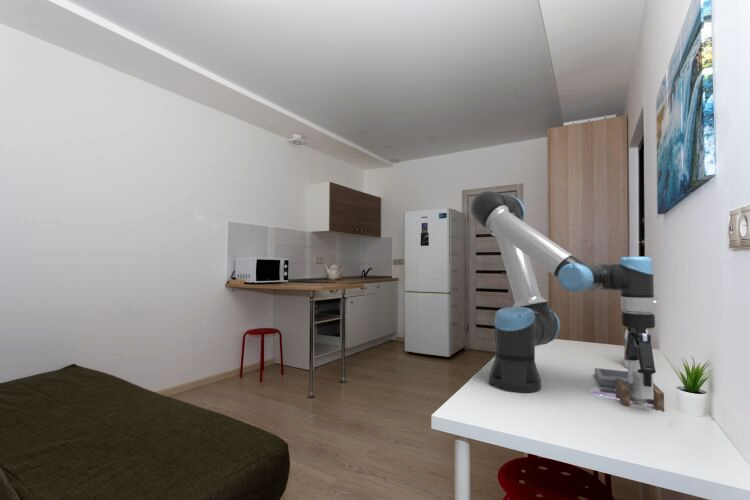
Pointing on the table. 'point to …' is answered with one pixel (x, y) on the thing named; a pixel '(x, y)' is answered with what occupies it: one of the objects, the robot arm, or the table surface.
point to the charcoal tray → (611, 377)
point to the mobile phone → (610, 394)
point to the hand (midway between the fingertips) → (640, 390)
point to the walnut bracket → (624, 395)
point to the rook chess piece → (636, 390)
